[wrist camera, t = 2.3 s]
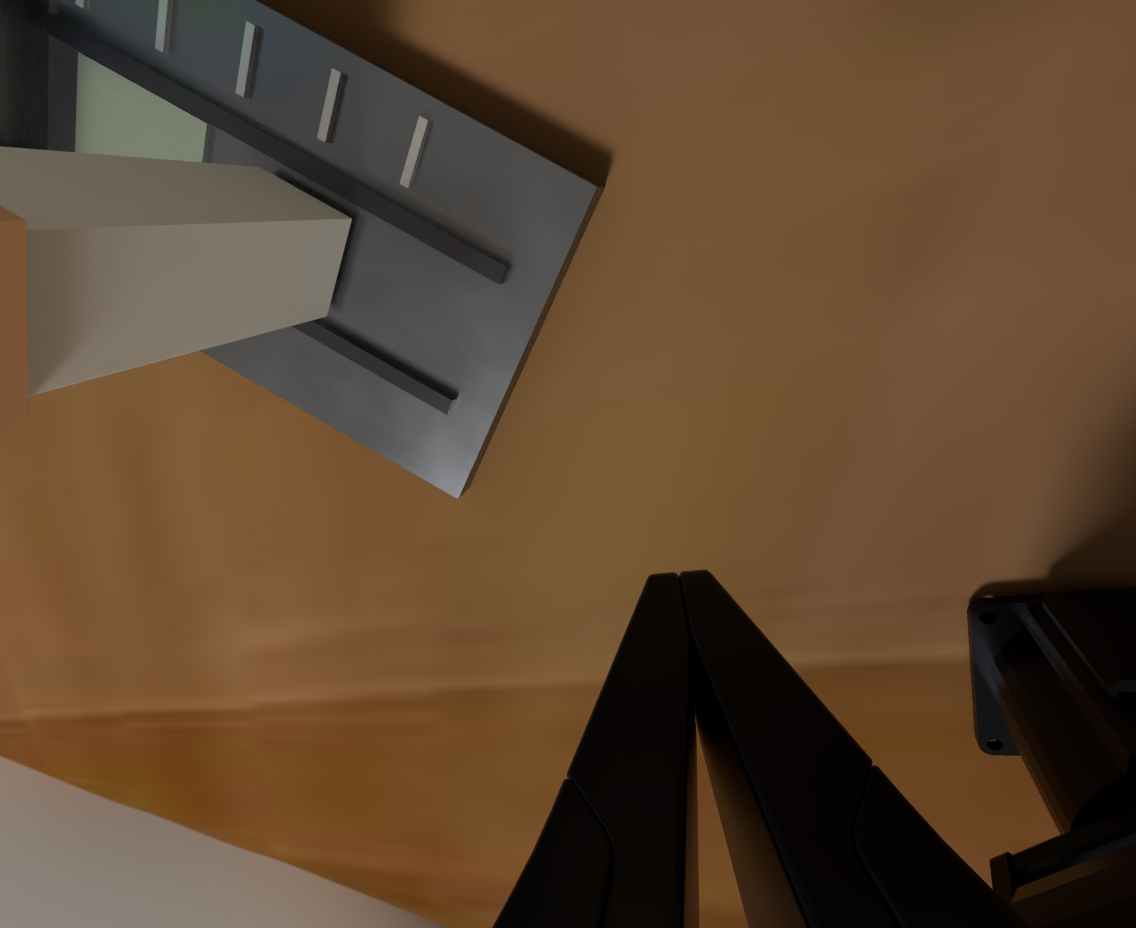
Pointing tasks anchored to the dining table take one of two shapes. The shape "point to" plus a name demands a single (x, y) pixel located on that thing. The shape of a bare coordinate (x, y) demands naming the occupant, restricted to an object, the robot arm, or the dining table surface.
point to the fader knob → (147, 264)
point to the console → (339, 179)
